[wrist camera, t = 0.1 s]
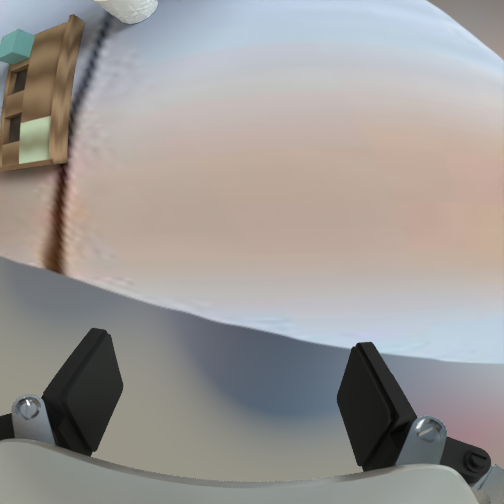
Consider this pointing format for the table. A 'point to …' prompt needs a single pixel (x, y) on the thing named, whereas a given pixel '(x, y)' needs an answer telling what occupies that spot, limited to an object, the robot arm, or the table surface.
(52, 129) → the board
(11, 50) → the block
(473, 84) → the table surface
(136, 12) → the white cup
